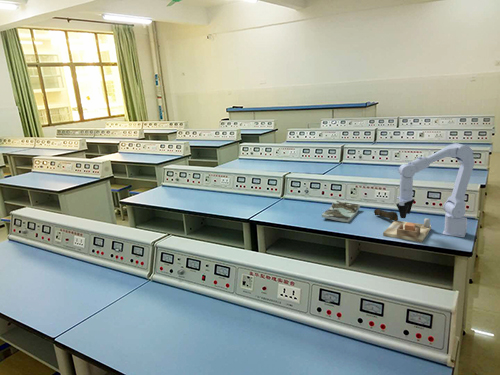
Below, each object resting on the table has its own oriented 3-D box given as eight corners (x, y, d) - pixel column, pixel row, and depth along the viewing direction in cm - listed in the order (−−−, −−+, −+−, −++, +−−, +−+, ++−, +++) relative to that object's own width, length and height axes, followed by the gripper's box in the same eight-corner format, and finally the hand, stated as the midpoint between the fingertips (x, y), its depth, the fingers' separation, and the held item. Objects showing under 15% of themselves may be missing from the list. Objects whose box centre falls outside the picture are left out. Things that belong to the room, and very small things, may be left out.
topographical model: (348, 223, 206) (348, 215, 205) (321, 220, 214) (321, 212, 212) (360, 210, 227) (360, 202, 226) (335, 207, 235) (335, 200, 234)
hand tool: (374, 215, 214) (373, 208, 213) (380, 214, 215) (379, 206, 214) (393, 222, 196) (392, 214, 195) (400, 221, 196) (399, 212, 196)
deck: (431, 229, 189) (431, 219, 188) (421, 242, 174) (422, 232, 173) (394, 223, 200) (394, 215, 199) (383, 236, 184) (383, 227, 183)
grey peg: (430, 226, 188) (430, 218, 187) (429, 227, 185) (429, 220, 184) (424, 225, 189) (424, 217, 188) (423, 227, 187) (423, 219, 186)
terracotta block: (415, 231, 183) (415, 223, 182) (413, 233, 180) (413, 226, 179) (406, 229, 185) (406, 222, 184) (404, 232, 182) (404, 224, 181)
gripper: (401, 184, 186) (401, 210, 189) (392, 191, 175) (392, 219, 178) (416, 185, 182) (415, 212, 185) (408, 193, 171) (407, 221, 174)
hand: (405, 215), depth 181 cm, fingers open, 7 cm apart
